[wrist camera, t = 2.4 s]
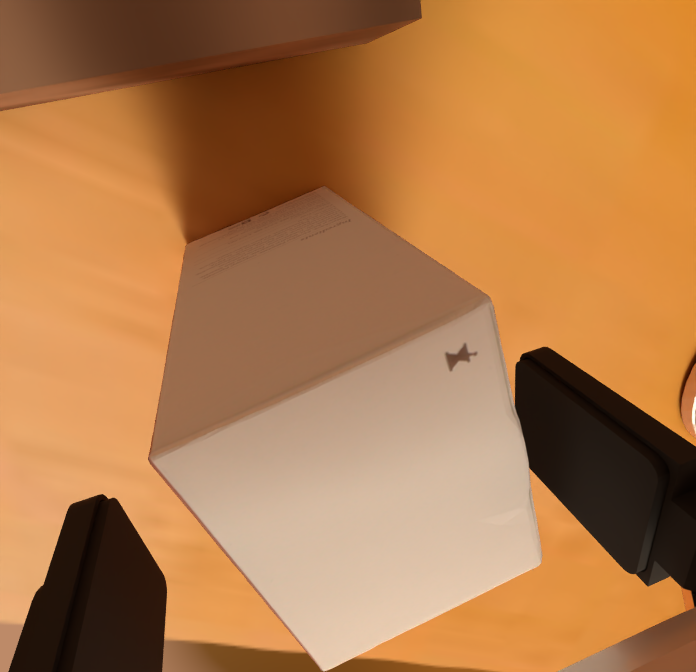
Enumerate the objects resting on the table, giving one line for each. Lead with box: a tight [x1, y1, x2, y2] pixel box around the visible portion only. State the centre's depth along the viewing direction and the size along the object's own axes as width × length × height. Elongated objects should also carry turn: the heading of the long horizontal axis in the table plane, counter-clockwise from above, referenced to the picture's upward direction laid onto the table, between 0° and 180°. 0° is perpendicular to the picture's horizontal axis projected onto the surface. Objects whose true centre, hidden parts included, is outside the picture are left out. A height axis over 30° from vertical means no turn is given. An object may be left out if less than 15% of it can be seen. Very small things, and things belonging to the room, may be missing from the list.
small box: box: [148, 186, 542, 671], centre depth 15 cm, size 8×6×13 cm
